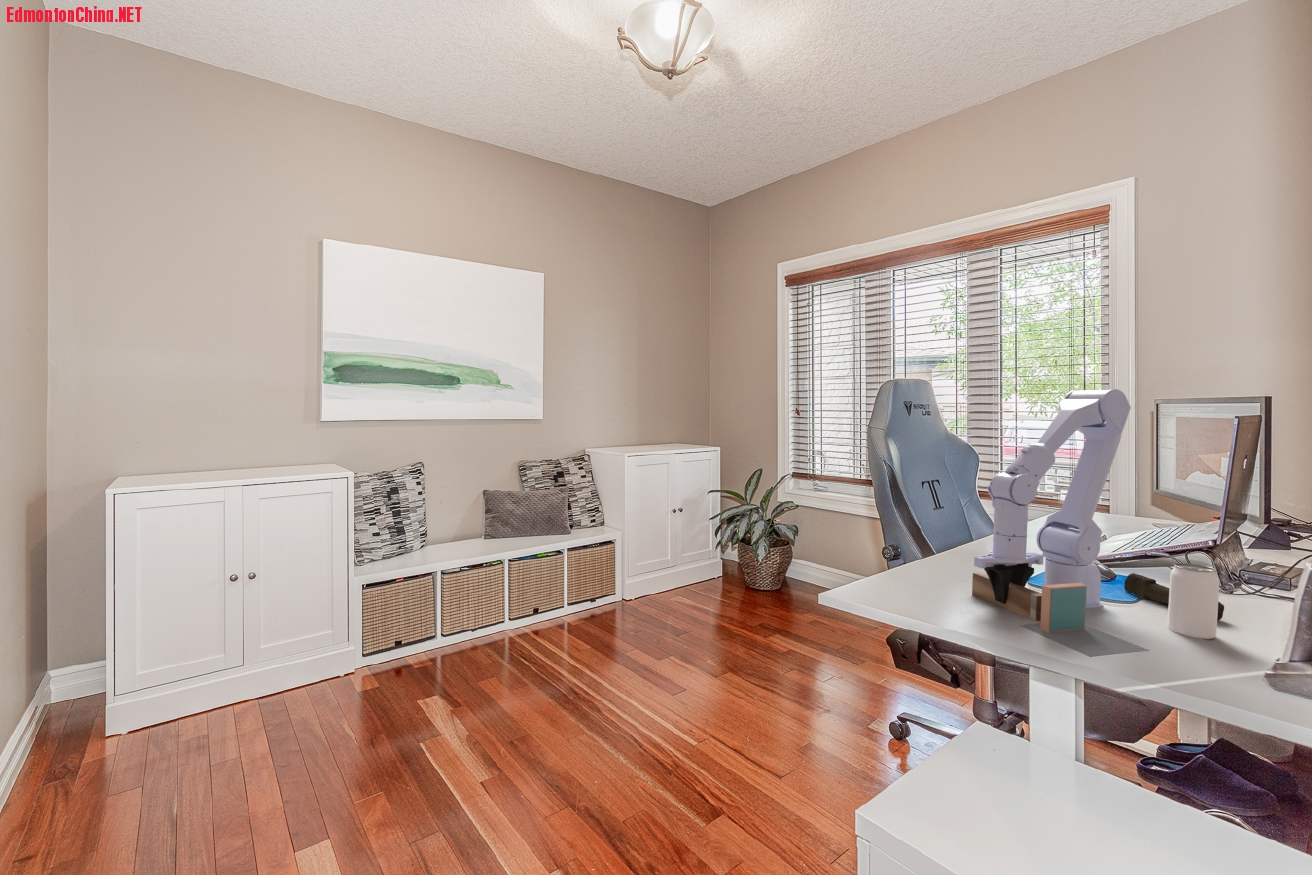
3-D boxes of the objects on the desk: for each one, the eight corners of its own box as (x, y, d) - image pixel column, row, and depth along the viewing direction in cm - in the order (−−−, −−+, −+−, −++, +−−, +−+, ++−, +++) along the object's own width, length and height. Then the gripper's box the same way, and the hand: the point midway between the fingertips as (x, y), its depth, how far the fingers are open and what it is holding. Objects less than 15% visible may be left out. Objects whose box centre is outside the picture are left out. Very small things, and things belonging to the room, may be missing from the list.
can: (1220, 643, 102) (1224, 574, 102) (1171, 635, 106) (1174, 568, 105) (1210, 631, 108) (1214, 565, 107) (1164, 624, 111) (1167, 560, 110)
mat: (1072, 622, 112) (1072, 619, 112) (1149, 652, 98) (1149, 649, 98) (1018, 626, 109) (1018, 624, 109) (1089, 658, 96) (1090, 656, 96)
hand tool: (1225, 622, 113) (1227, 598, 113) (1206, 622, 113) (1208, 598, 112) (1136, 591, 132) (1137, 570, 132) (1119, 591, 131) (1120, 571, 131)
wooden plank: (982, 595, 127) (983, 571, 127) (1046, 622, 112) (1047, 595, 112) (971, 596, 127) (972, 572, 126) (1035, 623, 111) (1036, 596, 111)
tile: (1076, 625, 109) (1078, 582, 108) (1085, 629, 107) (1087, 585, 107) (1040, 629, 107) (1042, 585, 107) (1048, 633, 105) (1050, 588, 105)
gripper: (1023, 528, 124) (1021, 592, 125) (963, 531, 121) (961, 597, 121) (1053, 535, 117) (1050, 603, 118) (990, 538, 114) (988, 608, 115)
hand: (1007, 601), depth 119 cm, fingers closed on wooden plank, 2 cm apart
